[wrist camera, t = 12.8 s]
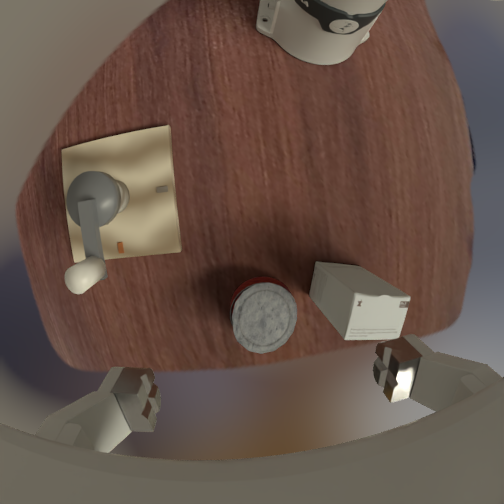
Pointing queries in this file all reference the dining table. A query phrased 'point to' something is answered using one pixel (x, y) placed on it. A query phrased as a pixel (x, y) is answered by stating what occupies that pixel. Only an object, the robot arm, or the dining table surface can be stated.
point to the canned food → (262, 314)
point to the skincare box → (358, 302)
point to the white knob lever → (91, 224)
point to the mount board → (130, 192)
